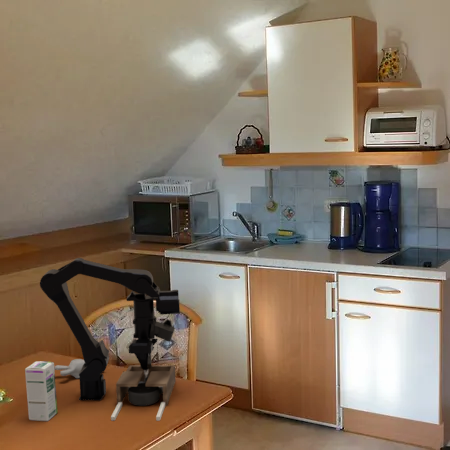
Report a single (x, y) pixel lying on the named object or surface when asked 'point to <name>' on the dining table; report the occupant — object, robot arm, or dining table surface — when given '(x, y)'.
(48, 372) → the syrup box
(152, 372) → the tunnel
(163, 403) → the rails
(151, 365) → the slider
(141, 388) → the smart speaker
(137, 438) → the dining table surface
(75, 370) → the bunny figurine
